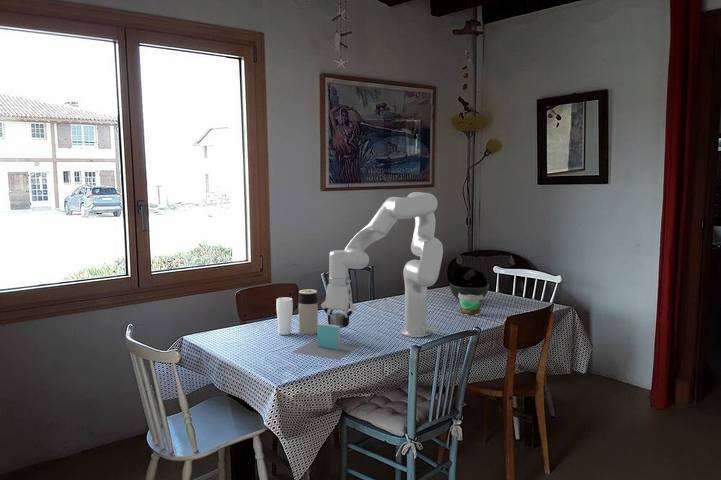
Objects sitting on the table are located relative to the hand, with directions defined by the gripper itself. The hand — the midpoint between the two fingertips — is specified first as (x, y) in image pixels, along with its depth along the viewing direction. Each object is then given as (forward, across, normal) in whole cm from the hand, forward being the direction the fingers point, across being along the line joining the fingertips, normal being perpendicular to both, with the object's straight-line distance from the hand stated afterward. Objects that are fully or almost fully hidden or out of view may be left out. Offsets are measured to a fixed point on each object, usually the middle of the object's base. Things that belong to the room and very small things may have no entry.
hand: (338, 325), depth 236 cm
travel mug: (+7, +18, -8) cm, 21 cm away
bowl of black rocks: (+7, -31, -90) cm, 96 cm away
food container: (+7, -37, -66) cm, 76 cm away
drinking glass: (+8, +26, -2) cm, 27 cm away
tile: (+7, 0, +8) cm, 11 cm away
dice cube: (+1, 0, 0) cm, 1 cm away
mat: (+7, 0, +10) cm, 13 cm away
